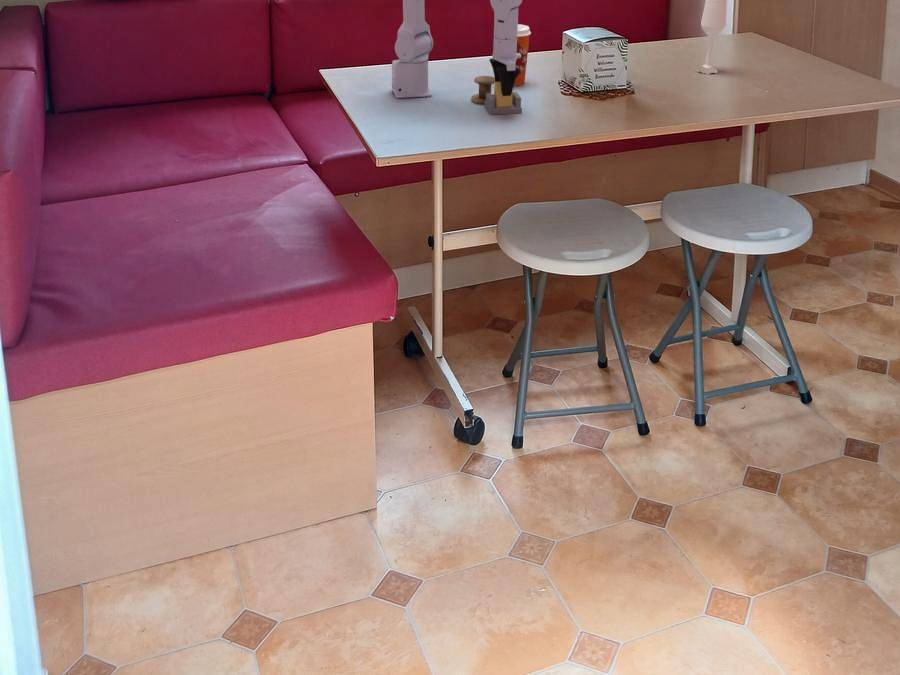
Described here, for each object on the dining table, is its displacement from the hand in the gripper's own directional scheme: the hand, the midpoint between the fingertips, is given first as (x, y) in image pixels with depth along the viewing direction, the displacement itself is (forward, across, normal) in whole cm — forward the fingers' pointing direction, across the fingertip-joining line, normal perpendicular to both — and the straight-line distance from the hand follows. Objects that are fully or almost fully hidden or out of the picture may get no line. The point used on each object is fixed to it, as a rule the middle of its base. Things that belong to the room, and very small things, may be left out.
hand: (503, 91), depth 260 cm
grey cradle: (+5, 0, 0) cm, 5 cm away
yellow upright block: (+3, 0, 0) cm, 3 cm away
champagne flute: (+5, +25, -65) cm, 70 cm away
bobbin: (+5, +8, +3) cm, 10 cm away
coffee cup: (+5, +22, -8) cm, 24 cm away
